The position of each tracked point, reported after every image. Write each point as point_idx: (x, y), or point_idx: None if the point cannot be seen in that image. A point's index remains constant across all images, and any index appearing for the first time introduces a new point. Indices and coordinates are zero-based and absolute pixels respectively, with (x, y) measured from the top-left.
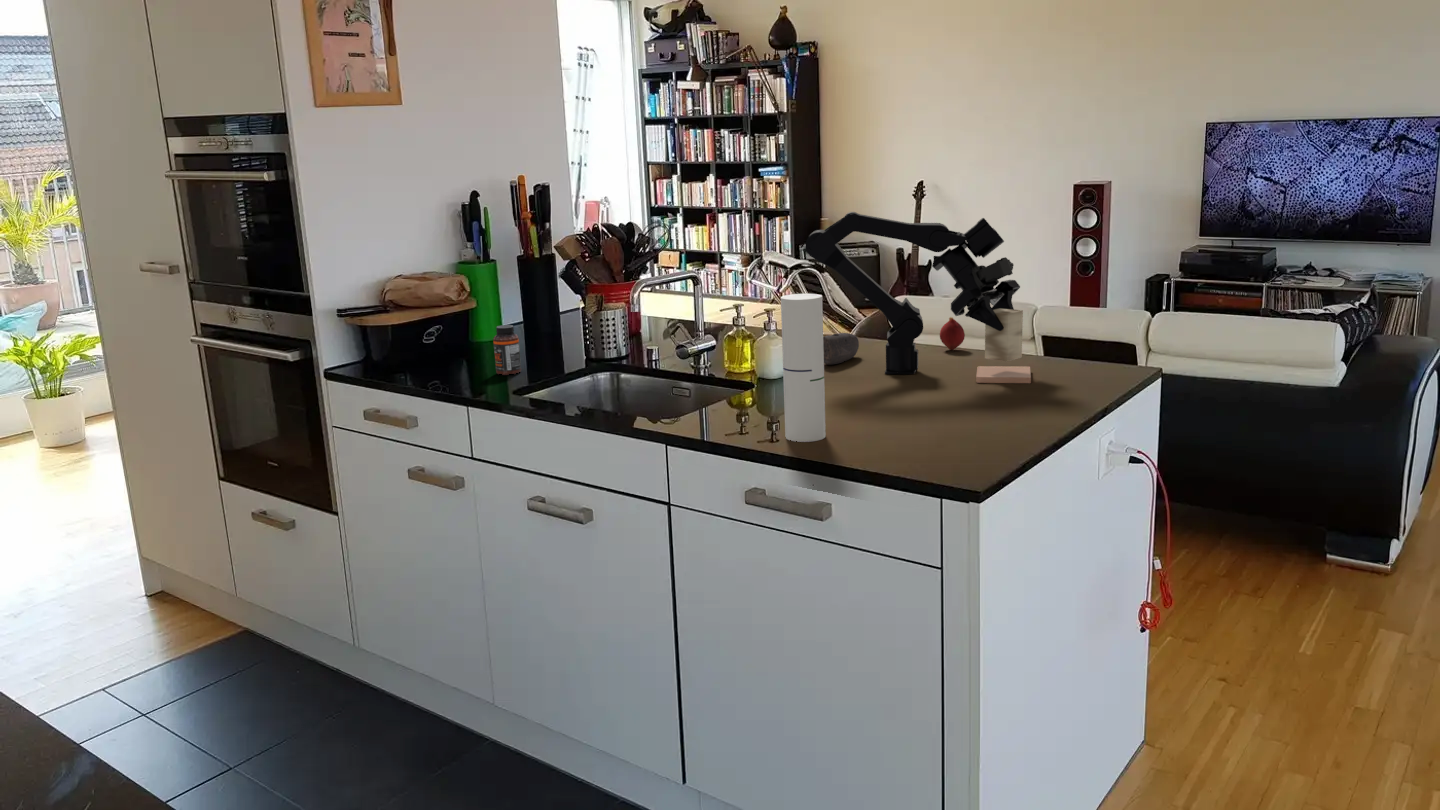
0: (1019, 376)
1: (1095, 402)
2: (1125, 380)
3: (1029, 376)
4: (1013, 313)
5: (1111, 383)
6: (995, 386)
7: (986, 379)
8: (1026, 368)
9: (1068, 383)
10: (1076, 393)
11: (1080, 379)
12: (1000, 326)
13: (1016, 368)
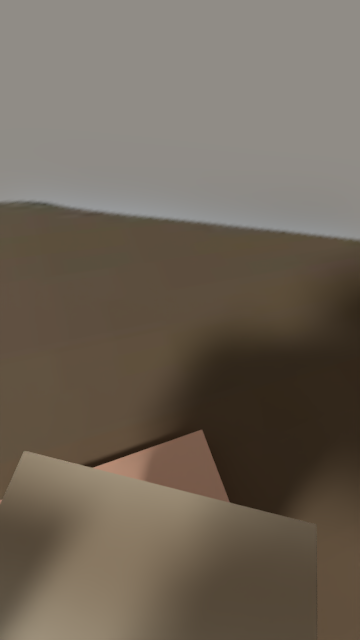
0: (202, 475)
1: (317, 251)
2: (81, 233)
3: (188, 439)
4: (213, 499)
5: (124, 252)
6: None
7: None
8: None
9: (158, 334)
10: (260, 295)
11: (96, 318)
12: None
13: None
